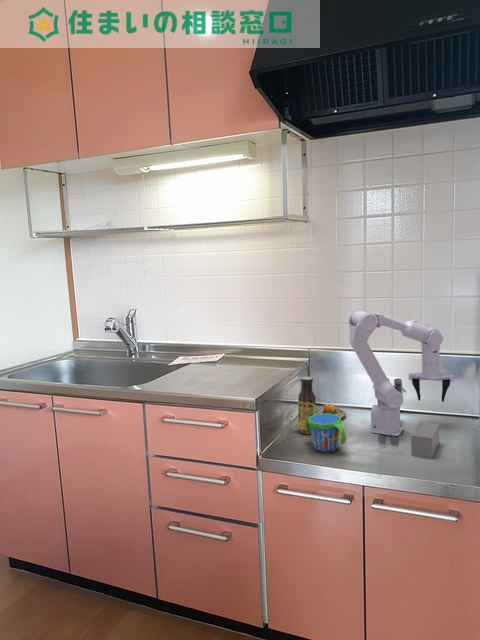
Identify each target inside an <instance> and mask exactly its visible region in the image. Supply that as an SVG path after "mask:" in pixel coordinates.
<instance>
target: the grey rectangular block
mask: <svg viewBox="0 0 480 640" xmlns="http://www.w3.org/2000/svg"><path fill="white" fill-rule="evenodd" d="M410 438H411V449H410V451H411V456H412V457H420V458H427V459H433V458H434V456H435V454H436V451H437V449H438V447H439V445H440V424H438V423H430V422H421V421H419V422H418V424H417V425H416V427H415V429H414V431H413V432H412V433H411V435H410Z"/></svg>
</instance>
